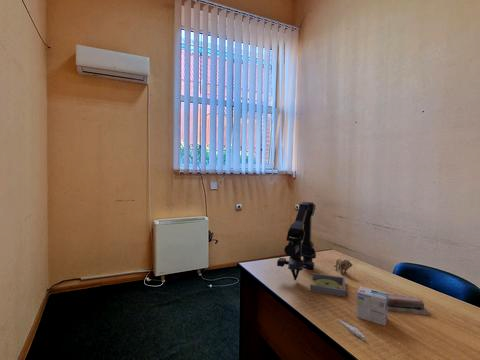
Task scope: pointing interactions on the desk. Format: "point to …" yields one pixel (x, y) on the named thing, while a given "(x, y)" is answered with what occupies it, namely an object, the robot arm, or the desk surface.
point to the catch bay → (327, 289)
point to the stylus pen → (353, 330)
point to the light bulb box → (372, 305)
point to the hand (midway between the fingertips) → (295, 279)
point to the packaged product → (406, 304)
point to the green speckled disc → (327, 283)
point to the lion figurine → (343, 265)
